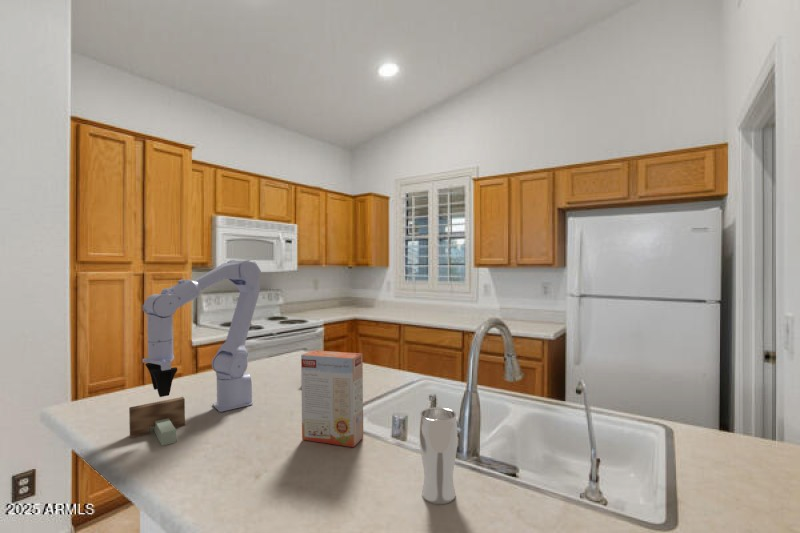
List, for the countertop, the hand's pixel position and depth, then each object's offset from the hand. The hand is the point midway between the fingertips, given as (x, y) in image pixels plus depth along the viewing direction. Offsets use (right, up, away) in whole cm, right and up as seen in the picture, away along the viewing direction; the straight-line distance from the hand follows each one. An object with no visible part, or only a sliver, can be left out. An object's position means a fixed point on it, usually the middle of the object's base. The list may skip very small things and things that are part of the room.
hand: (161, 392), depth 104 cm
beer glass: (+69, -9, -30) cm, 76 cm away
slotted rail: (0, -9, -1) cm, 9 cm away
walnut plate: (0, -9, -1) cm, 9 cm away
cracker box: (+46, -9, -7) cm, 47 cm away
